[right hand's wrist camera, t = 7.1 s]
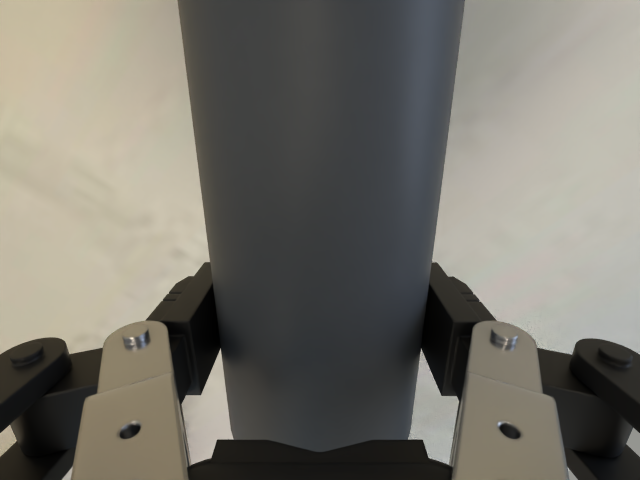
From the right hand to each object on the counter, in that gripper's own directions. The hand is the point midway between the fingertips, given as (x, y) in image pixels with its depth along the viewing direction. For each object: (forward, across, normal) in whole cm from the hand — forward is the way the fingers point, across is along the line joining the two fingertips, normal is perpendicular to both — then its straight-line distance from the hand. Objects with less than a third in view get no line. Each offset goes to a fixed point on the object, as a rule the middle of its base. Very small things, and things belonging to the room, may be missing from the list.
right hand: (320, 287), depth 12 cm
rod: (+2, 0, -9) cm, 9 cm away
